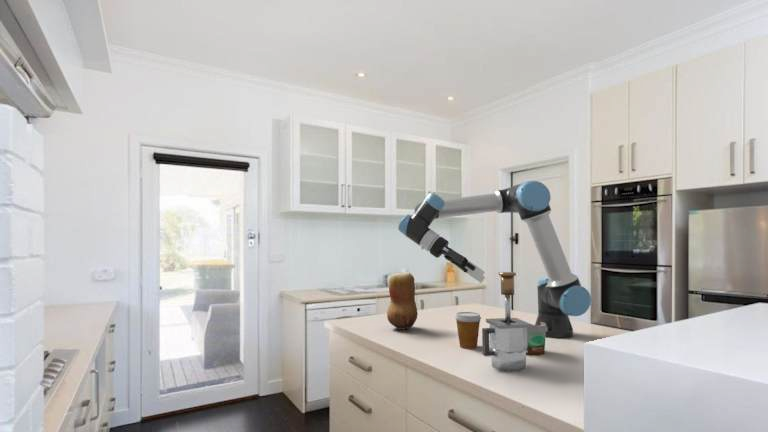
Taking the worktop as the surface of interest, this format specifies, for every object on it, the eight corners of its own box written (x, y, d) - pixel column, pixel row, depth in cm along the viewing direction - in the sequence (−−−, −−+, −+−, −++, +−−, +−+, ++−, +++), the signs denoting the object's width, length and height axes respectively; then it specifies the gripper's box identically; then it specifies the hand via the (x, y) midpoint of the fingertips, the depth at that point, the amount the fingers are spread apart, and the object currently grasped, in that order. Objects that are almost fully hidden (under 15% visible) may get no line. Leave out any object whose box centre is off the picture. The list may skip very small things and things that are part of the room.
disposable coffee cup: (481, 350, 149) (481, 316, 150) (454, 349, 151) (454, 315, 152) (481, 343, 159) (480, 312, 159) (455, 342, 160) (455, 311, 161)
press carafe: (516, 360, 137) (515, 317, 137) (532, 371, 126) (531, 324, 127) (477, 363, 135) (477, 319, 135) (490, 373, 124) (490, 325, 125)
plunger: (513, 325, 136) (512, 271, 137) (525, 330, 128) (524, 273, 129) (491, 326, 135) (490, 271, 135) (502, 331, 127) (501, 273, 128)
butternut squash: (382, 327, 187) (381, 271, 189) (407, 324, 194) (406, 270, 195) (398, 333, 175) (397, 274, 176) (424, 330, 182) (424, 272, 183)
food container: (530, 358, 140) (529, 328, 140) (516, 353, 145) (516, 324, 145) (556, 353, 145) (555, 324, 146) (542, 349, 151) (541, 321, 151)
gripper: (433, 258, 167) (477, 290, 160) (424, 245, 144) (475, 282, 136) (444, 243, 168) (489, 274, 160) (436, 228, 144) (489, 263, 137)
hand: (483, 277), depth 148 cm, fingers open, 13 cm apart
